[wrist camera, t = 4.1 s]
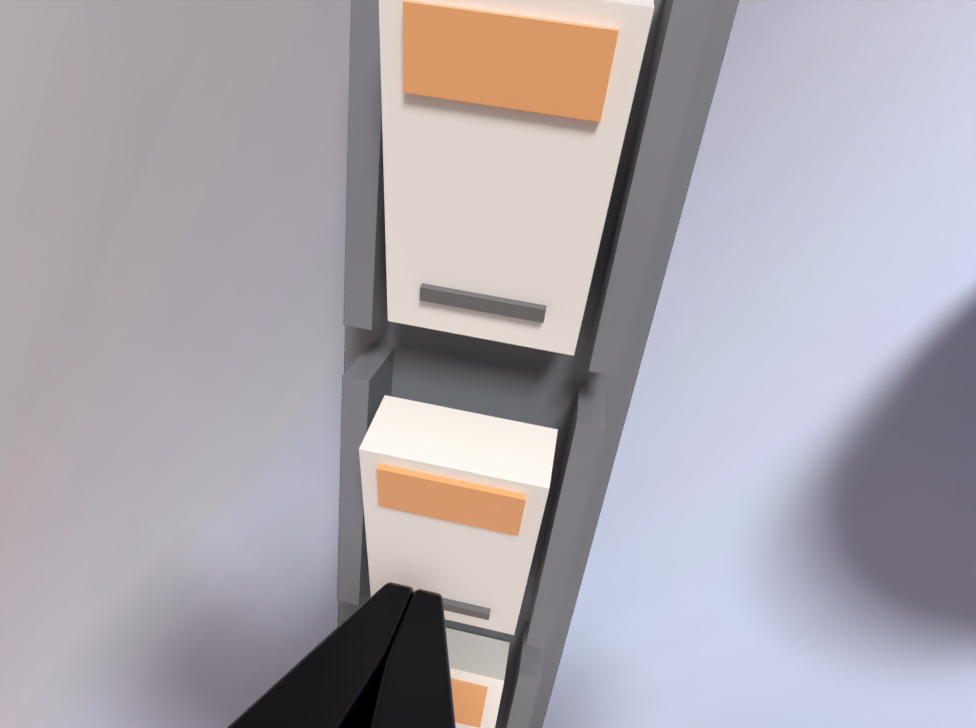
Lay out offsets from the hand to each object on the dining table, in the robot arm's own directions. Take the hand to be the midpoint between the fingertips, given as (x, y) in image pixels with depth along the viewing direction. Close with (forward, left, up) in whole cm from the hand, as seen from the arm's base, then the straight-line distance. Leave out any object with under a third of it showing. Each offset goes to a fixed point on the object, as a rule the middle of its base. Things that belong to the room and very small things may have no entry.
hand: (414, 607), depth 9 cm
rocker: (+6, 0, -5) cm, 7 cm away
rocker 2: (-2, 0, -5) cm, 5 cm away
